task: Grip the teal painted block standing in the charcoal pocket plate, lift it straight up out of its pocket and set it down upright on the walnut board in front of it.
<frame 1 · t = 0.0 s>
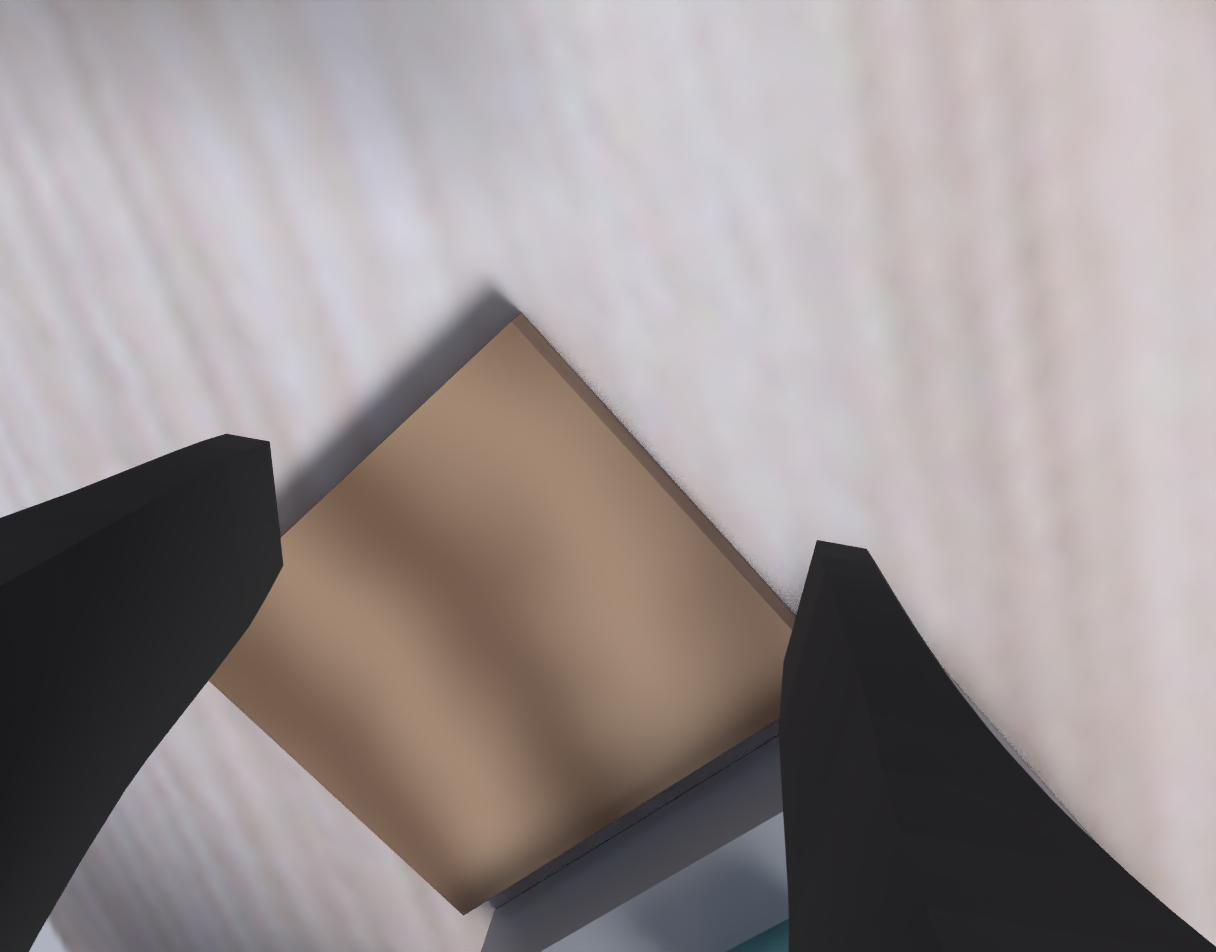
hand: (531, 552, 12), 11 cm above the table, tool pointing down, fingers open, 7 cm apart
walnut board: (493, 641, 25), on the table
teal block: (818, 939, 26), resting on pocket plate
pocket plate: (817, 926, 27), on the table
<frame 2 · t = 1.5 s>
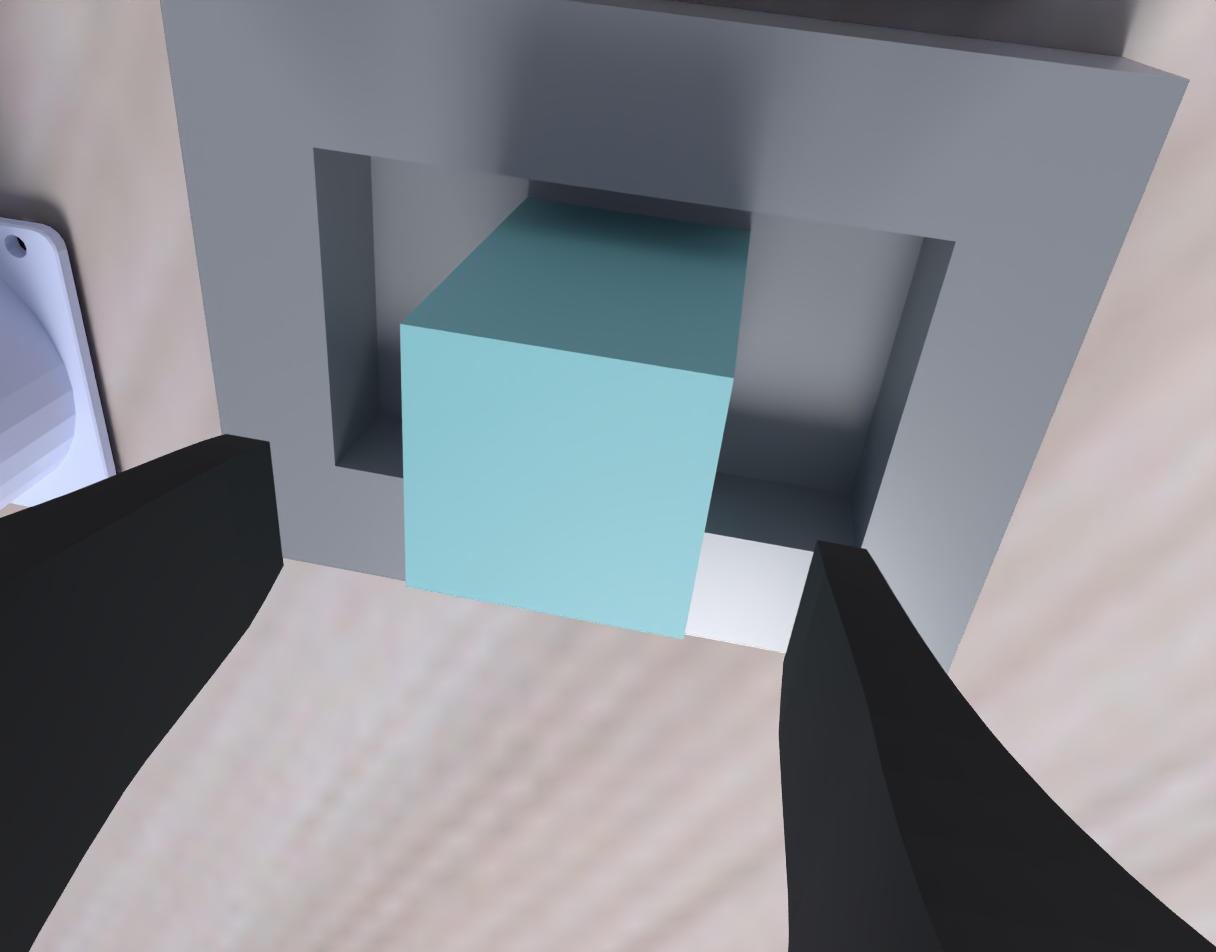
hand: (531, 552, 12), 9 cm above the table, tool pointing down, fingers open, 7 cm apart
teal block: (624, 320, 19), resting on pocket plate
pocket plate: (628, 312, 19), on the table
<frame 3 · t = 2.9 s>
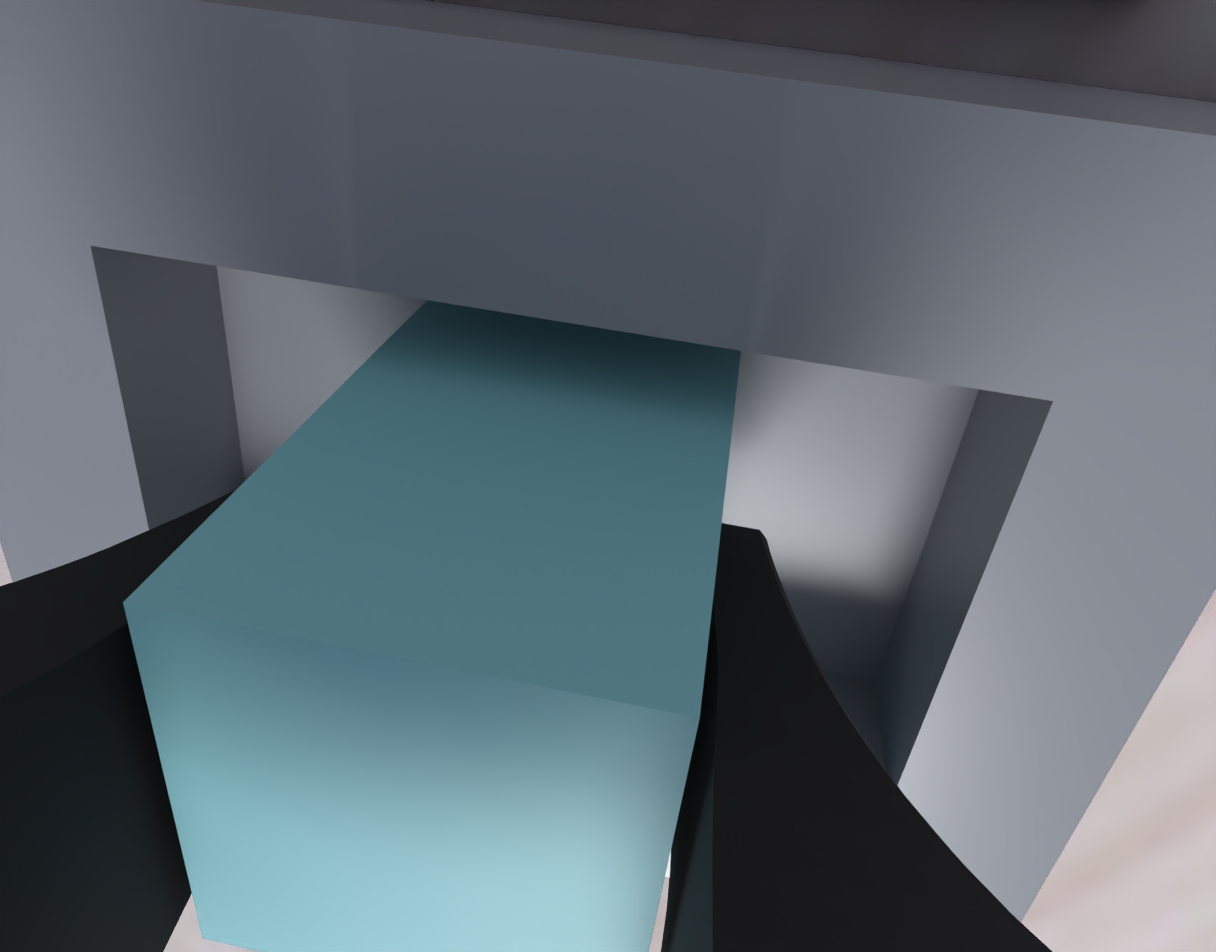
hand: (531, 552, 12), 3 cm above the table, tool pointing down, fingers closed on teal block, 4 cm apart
teal block: (570, 459, 14), resting on pocket plate, touching gripper
pocket plate: (576, 443, 14), on the table
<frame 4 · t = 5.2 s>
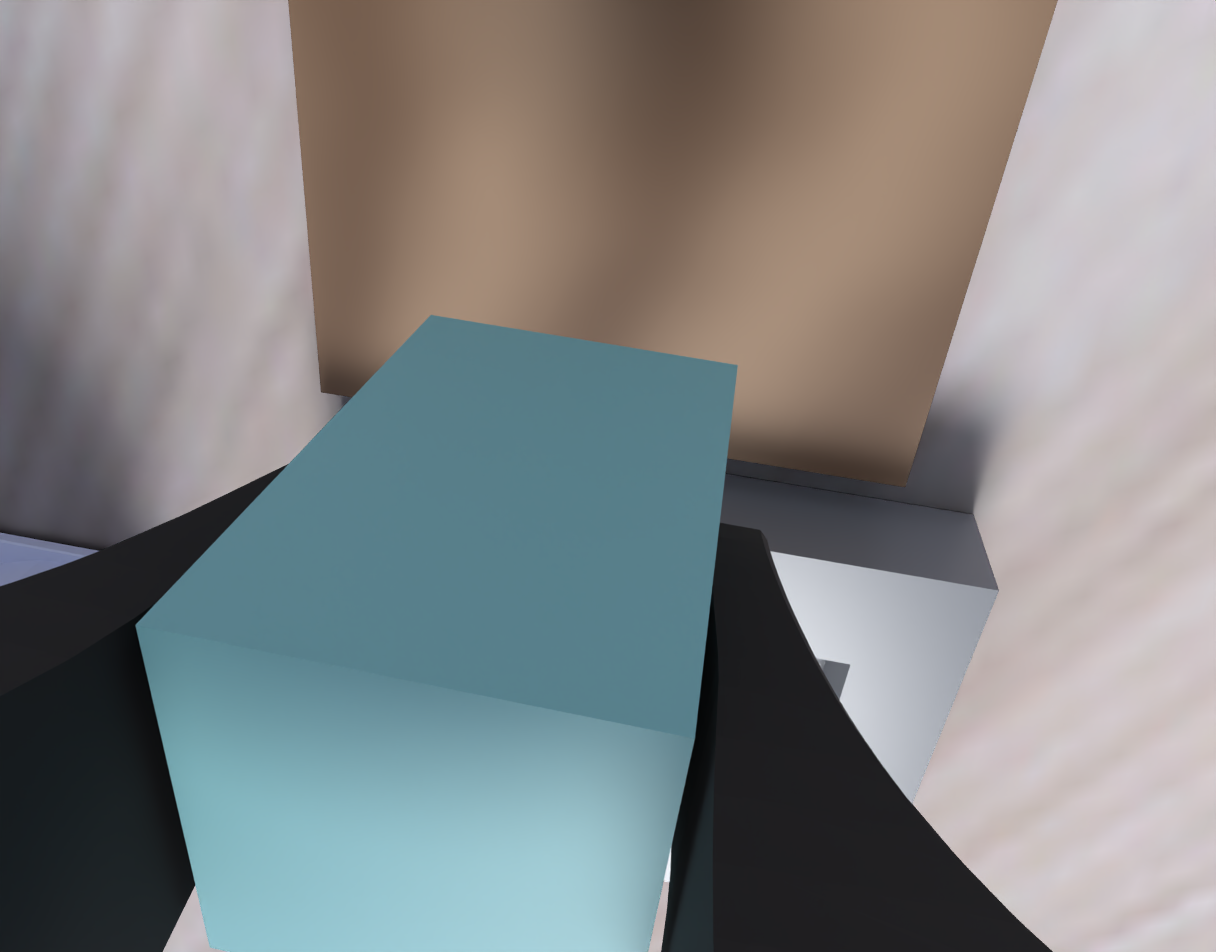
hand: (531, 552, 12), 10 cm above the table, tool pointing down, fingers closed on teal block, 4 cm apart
walnut board: (637, 167, 19), on the table
teal block: (569, 472, 14), point 8 cm above the table, touching gripper
pocket plate: (622, 641, 26), on the table
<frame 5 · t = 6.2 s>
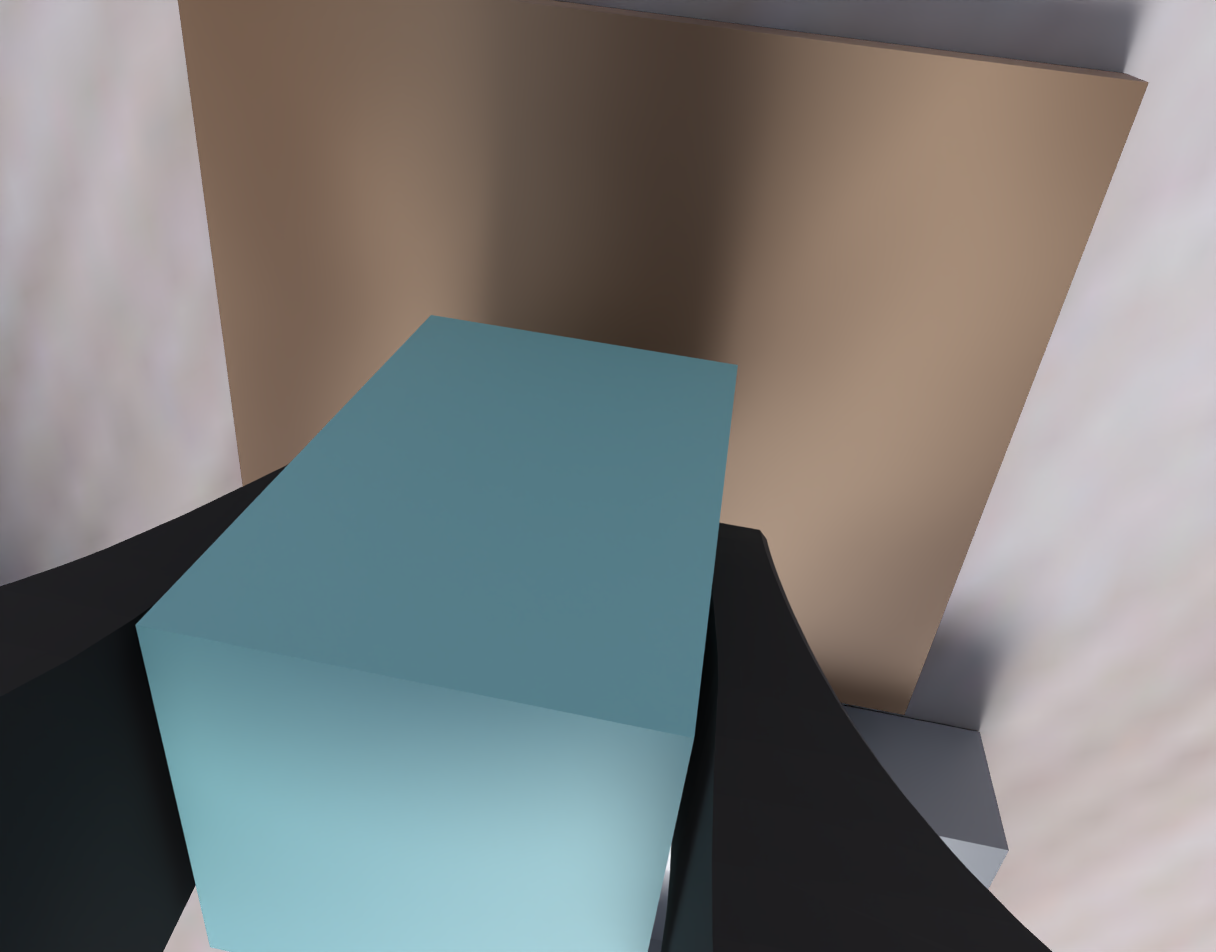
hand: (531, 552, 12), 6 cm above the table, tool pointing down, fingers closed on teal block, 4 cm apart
walnut board: (605, 372, 17), on the table
teal block: (569, 472, 14), point 3 cm above the table, touching gripper
pocket plate: (593, 831, 23), on the table
when the fingers open (5 cm above the table, at t = 7.3 s): teal block drops 1 cm, resting on walnut board.
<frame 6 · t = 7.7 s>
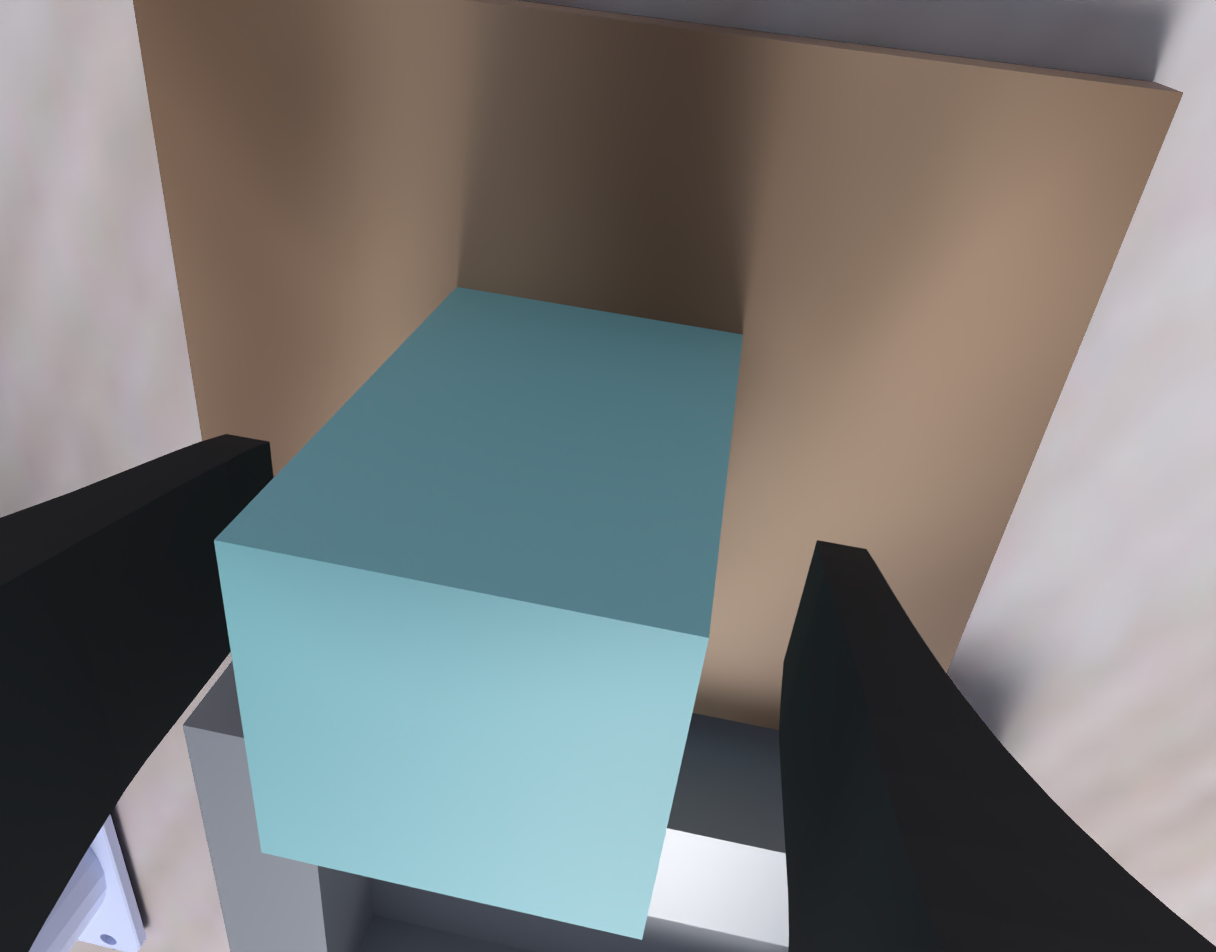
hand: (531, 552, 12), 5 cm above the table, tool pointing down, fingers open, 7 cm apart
walnut board: (596, 397, 16), on the table
teal block: (584, 437, 15), point 1 cm above the table, touching walnut board
pocket plate: (586, 868, 22), on the table
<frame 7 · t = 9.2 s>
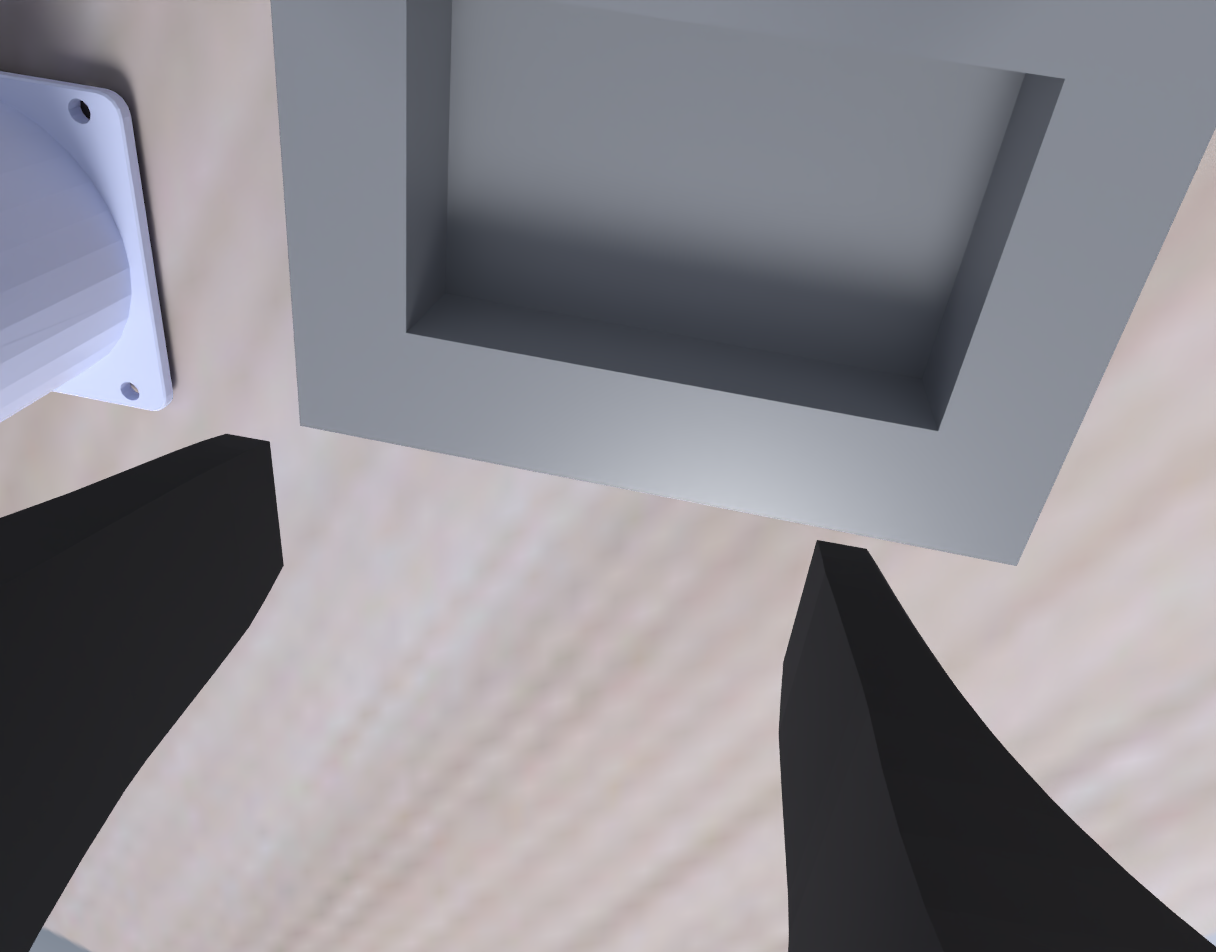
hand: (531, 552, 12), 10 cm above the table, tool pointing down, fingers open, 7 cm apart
pocket plate: (705, 185, 19), on the table
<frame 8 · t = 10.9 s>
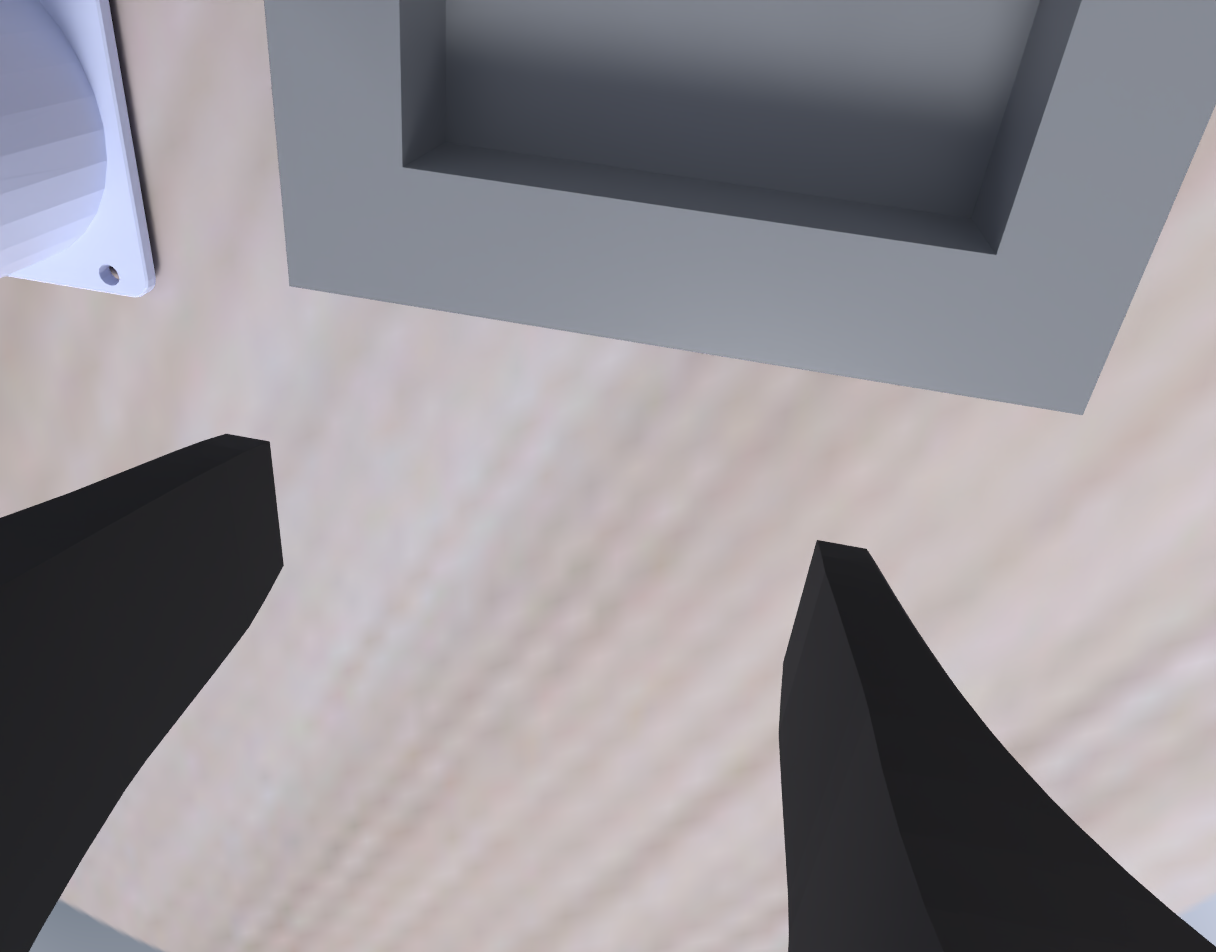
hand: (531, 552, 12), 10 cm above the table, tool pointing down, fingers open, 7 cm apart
pocket plate: (729, 1, 17), on the table
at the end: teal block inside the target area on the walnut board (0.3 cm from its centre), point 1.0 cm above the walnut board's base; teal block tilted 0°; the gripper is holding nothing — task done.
